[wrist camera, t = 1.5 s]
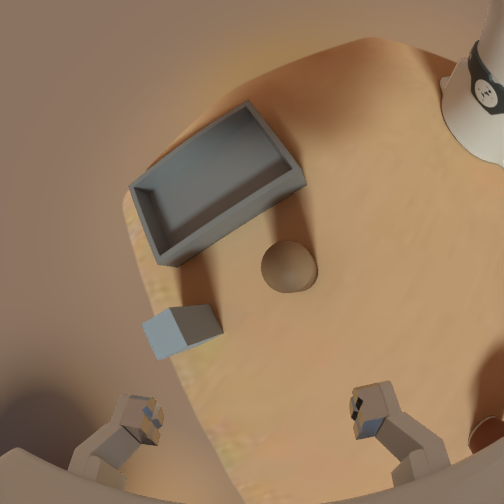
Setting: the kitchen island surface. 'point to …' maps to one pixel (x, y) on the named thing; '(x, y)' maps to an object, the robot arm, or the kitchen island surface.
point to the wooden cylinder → (289, 267)
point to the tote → (213, 185)
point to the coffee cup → (486, 433)
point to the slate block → (181, 329)
